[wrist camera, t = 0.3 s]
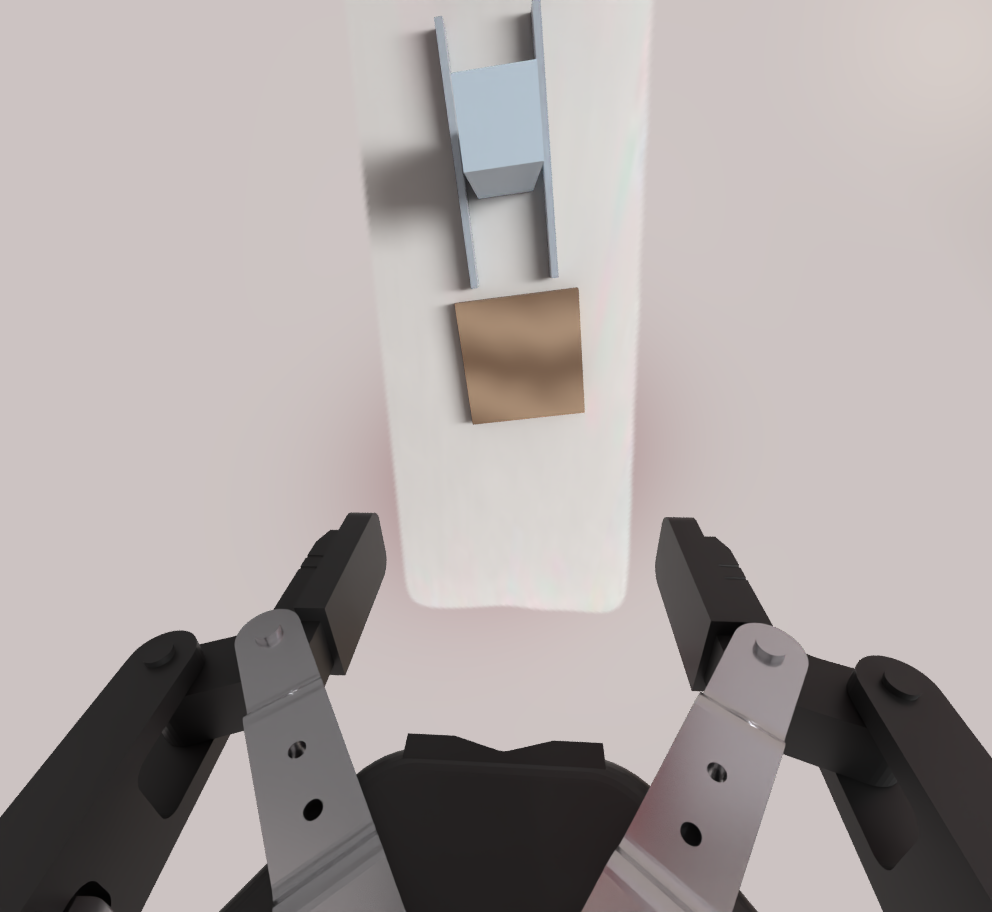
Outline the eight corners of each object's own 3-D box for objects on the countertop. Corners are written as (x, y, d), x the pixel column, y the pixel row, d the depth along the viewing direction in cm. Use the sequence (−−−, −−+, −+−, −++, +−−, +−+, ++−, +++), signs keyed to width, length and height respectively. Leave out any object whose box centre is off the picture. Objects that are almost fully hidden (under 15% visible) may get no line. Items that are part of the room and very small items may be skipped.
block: (470, 134, 32) (450, 72, 21) (527, 125, 32) (537, 58, 21) (478, 198, 34) (463, 172, 23) (532, 191, 34) (544, 160, 23)
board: (455, 302, 37) (454, 304, 36) (576, 287, 36) (578, 288, 35) (473, 420, 41) (472, 424, 40) (582, 408, 40) (584, 412, 39)
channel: (437, 27, 30) (433, 17, 29) (538, 10, 30) (540, -2, 28) (472, 287, 36) (471, 288, 35) (556, 276, 36) (558, 277, 35)
